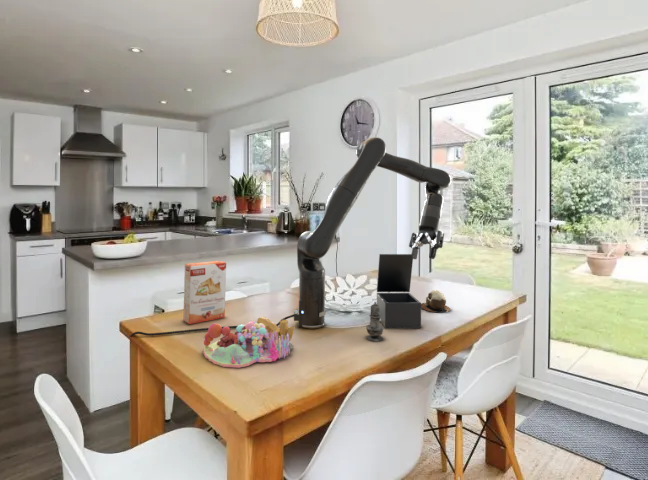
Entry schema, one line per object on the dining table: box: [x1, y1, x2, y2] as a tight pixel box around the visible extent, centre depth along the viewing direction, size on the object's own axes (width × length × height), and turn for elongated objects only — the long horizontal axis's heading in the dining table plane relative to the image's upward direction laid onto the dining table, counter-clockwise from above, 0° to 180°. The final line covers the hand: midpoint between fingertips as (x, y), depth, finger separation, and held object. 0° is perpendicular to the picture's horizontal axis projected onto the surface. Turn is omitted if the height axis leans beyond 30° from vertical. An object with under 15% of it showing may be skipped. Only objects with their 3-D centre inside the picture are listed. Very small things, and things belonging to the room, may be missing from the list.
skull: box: [421, 289, 451, 314], centre depth 170 cm, size 12×10×10 cm
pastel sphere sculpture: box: [203, 316, 296, 369], centre depth 122 cm, size 25×24×9 cm
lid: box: [376, 253, 414, 293], centre depth 157 cm, size 16×13×1 cm
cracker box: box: [182, 260, 227, 325], centre depth 151 cm, size 14×6×21 cm, turn 129°
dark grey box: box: [376, 292, 422, 329], centre depth 152 cm, size 15×13×9 cm
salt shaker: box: [365, 301, 385, 342], centre depth 134 cm, size 6×6×12 cm
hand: (422, 258), depth 153 cm, fingers open, 8 cm apart
